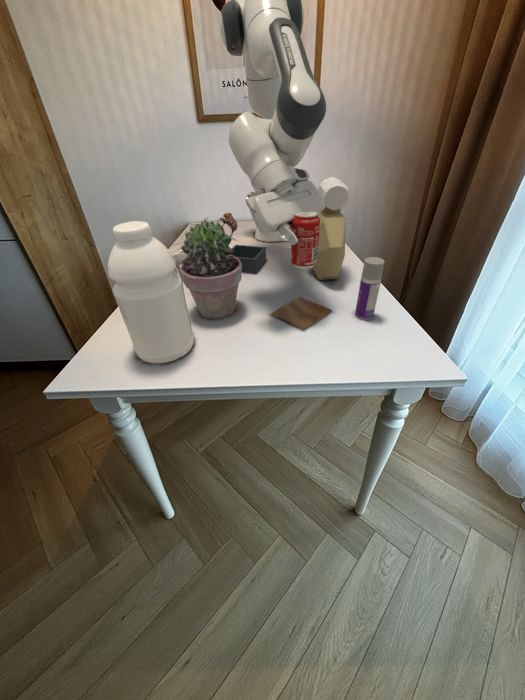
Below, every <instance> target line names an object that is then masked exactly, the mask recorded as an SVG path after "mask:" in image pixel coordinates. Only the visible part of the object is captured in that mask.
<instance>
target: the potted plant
mask: <svg viewBox="0 0 525 700" xmlns="http://www.w3.org/2000/svg"><path fill="white" fill-rule="evenodd" d="M208 219H209V217H208V216H206V218H204V219H203V221H202V220H200V223H196V224H194V226H192V224H190V226H189V231H187V232H184V236H185V239H184V241H183V242H180V243H178V245H180V244H182V243H183V244H182V245H181V246H180V248H177V249H176V250H174V251H173V253H174V252H178V251H180V250H181V251H182V252H180V253H183V252H184V253H186V254H187V256H186V258H185V259H184V260H182V259H181V260H182V261H183V262H182V263H183V264H182V263H181V264H182V265H181V264H179V265H180V272H181V276H180V277H181V279H182V283H183V285H184V286H185V287H186V288H187V289H188V291H189V293H190V294H191V296H192V299H193V301H194V303H195V305H196V308H197V309H198V311H199V313H200V315H201V316H202V317H203V318H206V319H210V320H218V319H224V318H226V317H229V316H231V315H232V314H233V313H234V312H235V310H236V309H235V308H236V304H237V297H238V290H239V285H240V282H241V281H242V273H243V272H242V263H241V261H240V260H239V259H238V258H237V257H235V256H233V255H229V254H231V253H235V252H233V251H235V250H232V248H233V247H234V246H235V245H233V246H232V248H231V247H230V244H231V242H232V241H235V242H236V239H235V238H234V237H233V234H234V232H236V231H237V229H238V223H237V220H236V219H235V217H234V216H233V213H232V212H225V213H223V215H222V217H220V218H218V219H217V220H216V223H214V221H210V222H209V221H208ZM220 222H222V223H223V224H221V223H220ZM225 224H226V225H227V226H228V227H229V229H230V231H229V232H231V233H230V234H227V233H226V232H225V229H224V226H225ZM238 242H239V243H240V242H241V241H239V240H238ZM176 245H177V243H175V244H173V245H171V247H172V246H176ZM179 265H178V266H179ZM178 266H177V267H178ZM177 267H176V268H177ZM244 271H245V270H244Z"/></svg>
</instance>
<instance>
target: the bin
mask: <svg viewBox="0 0 525 700" xmlns="http://www.w3.org/2000/svg"><path fill="white" fill-rule="evenodd" d="M233 246H234V247H233ZM233 246H232V250H235V251H233V252H235V253H231V254H229V255H233V256H235V257H237V258H238V259H239V260H240V261H241V263H242V273H244V274H245V273H246V274H252V275H257V274H258V272H259V271H260V269H261V268H262V267H263V266H264V264H265V263H266V262H267V246H259V245H258V246H256V245H243V244H234V245H233ZM244 270H245V271H244Z"/></svg>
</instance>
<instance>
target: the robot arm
mask: <svg viewBox="0 0 525 700" xmlns="http://www.w3.org/2000/svg"><path fill="white" fill-rule="evenodd" d="M304 20H305V13H304V6H303V2H302V0H229V1H227V2H225V3H224V4H223V6H222V8H221V10H220V20H219V32H220V36H221V39H222V43H223V44H224V46H225V48H226V51H227V52H228V53H229V54H230V55H231V56H233V57H242V56H243V55H244V71H245V80H246V88H247V89H246V90H247V96H248V104H249V107H250V108H251V110H252V111H253V112H254V113H252V112H251V111H245V112H243V113H241V114H240V115H239V116H237V118H235V120H234V121H233V122H232V124H231V126H230V129H229V132H228V144H229V147H230V150H231V152H232V154H233V156H234V158H235V160H236V162H237V163H238V165H239V167H240V169H241V170H242V171H243V173H244V174H245V175H246V176H247V177H248V179H249V180H250V184H251V186H252V188H253V190H254V191H251V192H248V193H247V194H246V196H245V204H246V206H247V207H248V209H249V212H250V215H251V217H252V220H253V222H254V223H255V230H254V233H255V234H254V238H255V240H258V241H261V242H268V243H269V242H270V243H273V242H274V243H275V242H288V241H289V242H290V245H291V244H292V245H295V244H297V243H298V242H299V241H300V240H301V239H300V237H299V236H298V235H297V233H296V234H294V233H293V232H292V220H293V219H294V218H295V213H300V212H302V210H312V211H316V212H317V213H318V215H319V214H320V213H321V212H322V211H323V210H324V208H325V203H324V200H323V198H322V196H321V195H320V193H319V191H318V188H317V186H316V185H315V184H314V183H313V182H312V181H311V180H309V179H310V177H311V175H310V174H309V172H308V171H307V170H306V169H304V168H303V169H302V168H297V167H296V166H298V165H299V163H300V162H301V161H302V160H303V158H304V156H305V154H306V152H307V150H308V148H309V147H310V145H311V142H312V140H313V139H314V135H315V134H316V131H318V130H319V129H318V128H319V127H320V126H321V124H322V122H323V120H324V118H325V117H326V112H327V101H326V98H325V95H324V92H323V90H322V88H321V87H320V85H319V83H318V81H317V80H316V78H315V75H314V74H313V72H312V69H311V64H310V62H309V59H308V55H307V52H306V49H305V45H304V43H303V39H302V37H301V36H302V31H303V26H304ZM255 114H256V115H255ZM319 233H320V231H319Z"/></svg>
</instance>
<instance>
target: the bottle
mask: <svg viewBox="0 0 525 700" xmlns="http://www.w3.org/2000/svg"><path fill="white" fill-rule="evenodd" d="M152 233H153V231H152V227H151V225H150V224H149V223H148V222H147V221H143V220H131V221H126V222H121V223H119V224H116V225H114V226H113V227H112V235H113V238H114V239H115V240H117V241H116V242H115V243H114V245H113V247H112V249H111V251H110V254H109V255H108V259H107V269H106V270H107V271H106V273H107V275H108V277H109V280H111V281H113V282H115V283H114V285H113V287H112V290H111V291H112V295H113V296H114V299H115V301H116V304H117V307H118V309H119V312H120V314H121V317H122V320H123V322H124V325H125V327H126V330H127V333H128V335H129V338H130V340H131V344H132V348H133V351H134V353H135V354H136V356H137V358H139V359H140V360H141V361H143V362H146V363H150V364H165V363H170V362H174V361H176V360H178V359H181V358H182V357H184V356H185V355H186V354H187V353H189V352H190V351H191V349H192V347H193V346H194V344H195V343H194V342H195V341H194V339H195V337H194V331H193V327H192V323H191V319H190V314H189V313H190V312H189V309H188V304H187V300H186V295H185V289H184V283H183V279H182V276H179V273H176V272H174V270H175V268H176V260H175V259H174V257H173V255H172V254H171V253H172V252H171V251H170V250H169V249H168V248H167V247H166V246H165V244H164V243H162V242H161V241H160V240H159V239H157V238H156V237H154V236H153V235H152Z"/></svg>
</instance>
